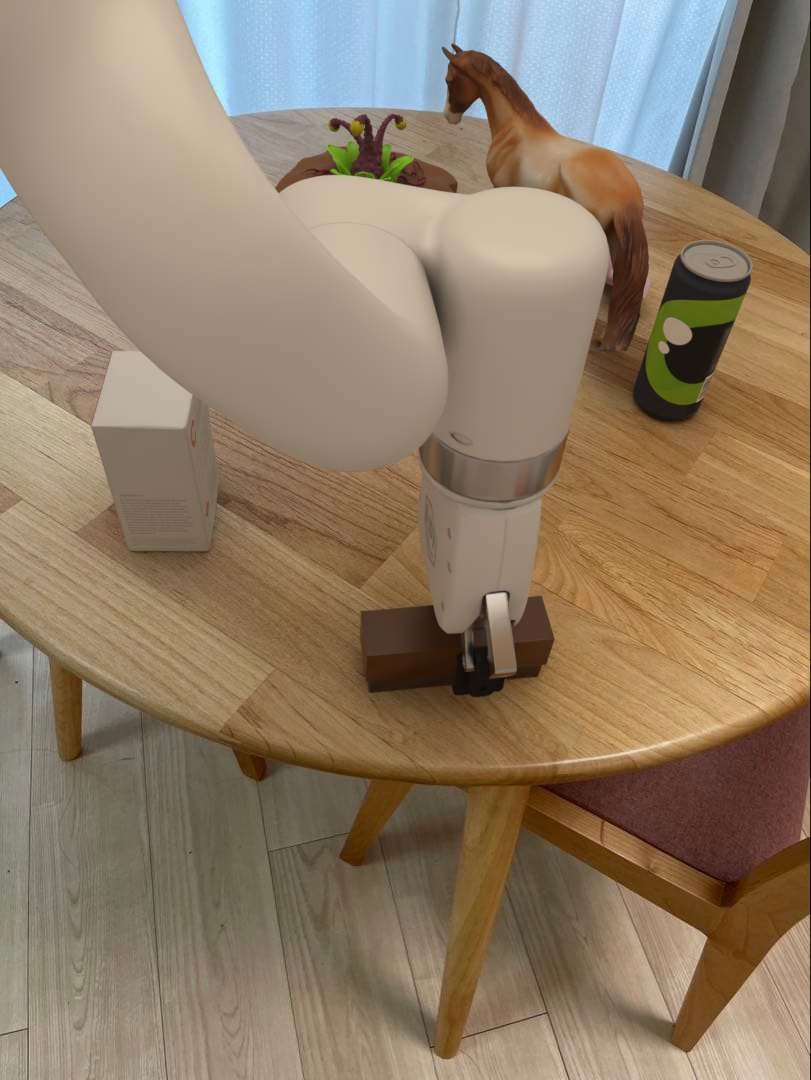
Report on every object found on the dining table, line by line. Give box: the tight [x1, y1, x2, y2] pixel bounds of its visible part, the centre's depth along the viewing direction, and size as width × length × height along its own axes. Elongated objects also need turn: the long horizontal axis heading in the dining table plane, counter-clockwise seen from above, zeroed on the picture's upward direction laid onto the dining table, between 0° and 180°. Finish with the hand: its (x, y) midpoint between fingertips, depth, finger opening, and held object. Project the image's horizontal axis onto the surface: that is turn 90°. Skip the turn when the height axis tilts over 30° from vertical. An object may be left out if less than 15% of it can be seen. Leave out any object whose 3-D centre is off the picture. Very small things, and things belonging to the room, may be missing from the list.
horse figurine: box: [441, 42, 650, 353], centre depth 83 cm, size 31×8×21 cm, turn 32°
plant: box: [274, 113, 459, 193], centre depth 97 cm, size 20×20×11 cm
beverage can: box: [633, 239, 754, 421], centre depth 76 cm, size 6×6×15 cm
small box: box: [90, 350, 220, 552], centre depth 65 cm, size 8×6×13 cm
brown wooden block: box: [359, 595, 555, 694], centre depth 60 cm, size 12×4×5 cm, turn 98°
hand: (462, 626), depth 58 cm, fingers open, 9 cm apart
